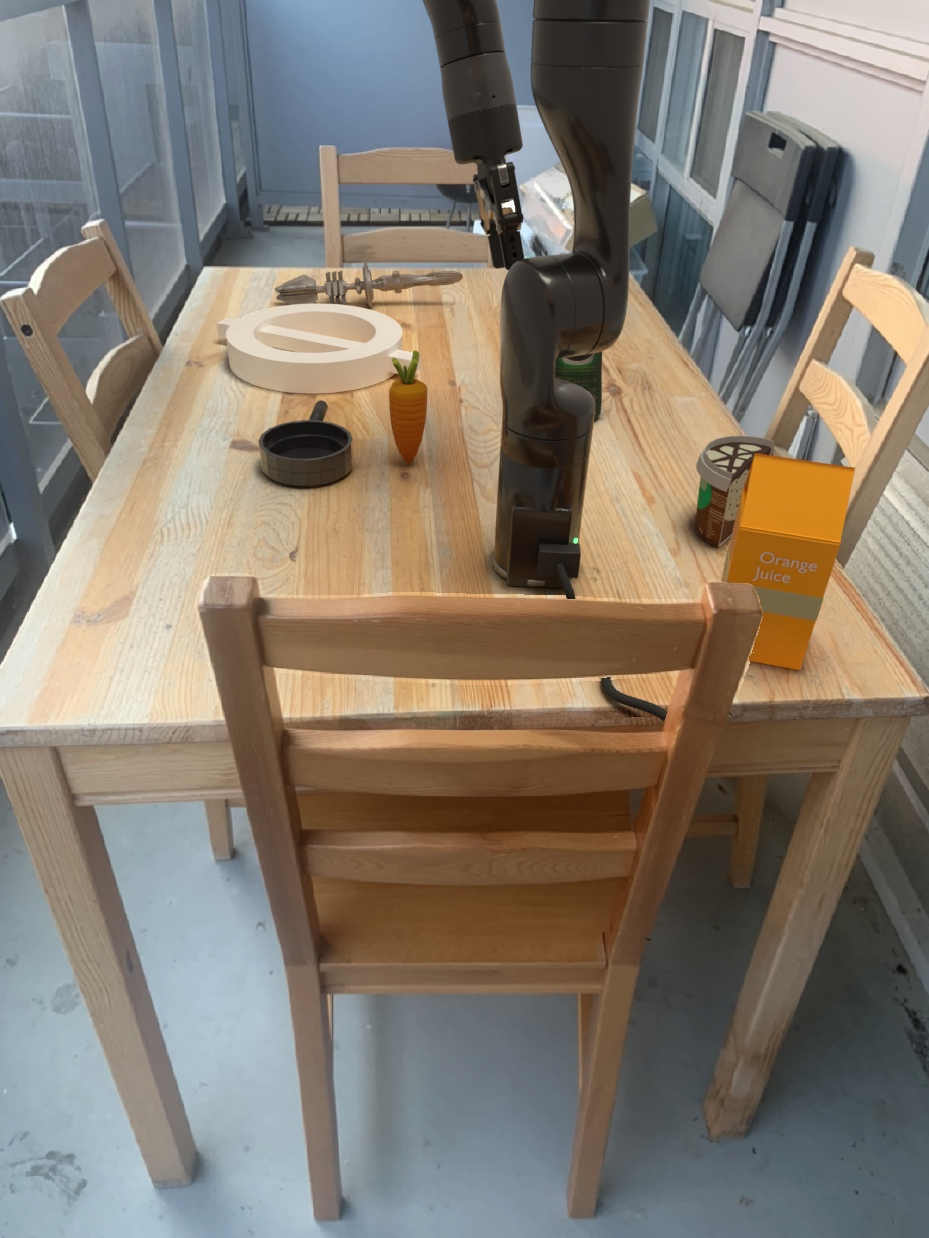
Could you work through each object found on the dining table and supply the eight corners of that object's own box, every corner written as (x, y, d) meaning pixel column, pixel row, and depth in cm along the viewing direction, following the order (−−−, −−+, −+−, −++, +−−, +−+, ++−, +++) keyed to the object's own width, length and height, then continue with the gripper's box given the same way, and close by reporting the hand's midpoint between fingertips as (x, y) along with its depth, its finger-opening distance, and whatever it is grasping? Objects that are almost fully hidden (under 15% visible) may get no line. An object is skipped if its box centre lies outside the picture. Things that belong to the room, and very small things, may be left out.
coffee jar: (593, 402, 140) (608, 277, 129) (604, 424, 134) (620, 295, 123) (530, 402, 139) (540, 277, 128) (538, 424, 133) (549, 294, 122)
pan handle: (320, 433, 123) (319, 420, 122) (307, 432, 123) (306, 420, 122) (329, 410, 129) (328, 398, 128) (316, 410, 129) (315, 398, 128)
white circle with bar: (426, 381, 145) (426, 352, 142) (248, 403, 136) (244, 372, 133) (373, 324, 165) (372, 297, 162) (216, 339, 156) (212, 311, 154)
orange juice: (800, 671, 89) (859, 487, 77) (708, 653, 91) (752, 471, 79) (799, 625, 95) (853, 449, 83) (712, 610, 97) (754, 435, 85)
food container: (713, 497, 117) (729, 424, 111) (758, 513, 114) (777, 439, 108) (665, 534, 109) (679, 458, 103) (712, 553, 106) (730, 475, 100)
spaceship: (463, 272, 166) (459, 244, 170) (270, 290, 165) (271, 262, 169) (465, 307, 173) (461, 279, 177) (279, 325, 172) (280, 297, 176)
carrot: (394, 474, 119) (392, 362, 110) (386, 457, 123) (384, 347, 114) (431, 470, 120) (432, 359, 111) (422, 453, 124) (422, 345, 115)
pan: (346, 491, 115) (345, 462, 113) (253, 487, 115) (249, 458, 113) (358, 449, 125) (357, 422, 122) (272, 445, 125) (269, 418, 122)
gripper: (527, 92, 92) (554, 262, 98) (504, 110, 105) (529, 259, 111) (454, 108, 91) (486, 278, 98) (440, 124, 104) (469, 273, 111)
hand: (509, 268), depth 104 cm, fingers open, 8 cm apart
